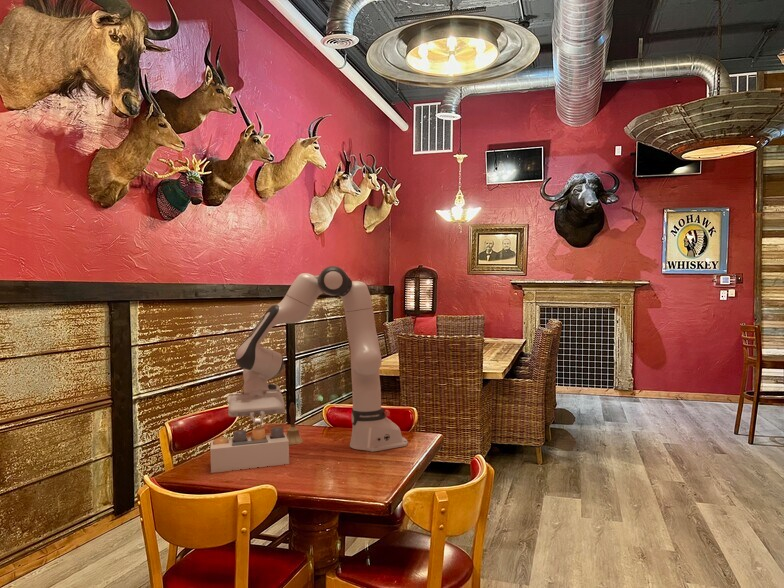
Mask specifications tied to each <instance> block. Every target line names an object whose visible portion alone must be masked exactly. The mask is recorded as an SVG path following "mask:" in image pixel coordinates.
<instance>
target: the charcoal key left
mask: <svg viewBox="0 0 784 588" xmlns="http://www.w3.org/2000/svg"><path fill="white" fill-rule="evenodd" d="M283 433H284V427H282V426H274V427H271V428H270V434H271V439H276V438H283Z"/></svg>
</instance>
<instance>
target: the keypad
mask: <svg viewBox="0 0 784 588" xmlns="http://www.w3.org/2000/svg"><path fill="white" fill-rule="evenodd" d="M286 435H287V433H285V432H283V438H276V439H271V433H270V434H265V439H263V440H252V435H251V436H246V441H244V442H234V439H233V437H231V438H227V443H226V444H217V445H214V439H212V440H211V441H210V450H209V451H210V474H215V473H224V472H232V470H233V471H241V470H240V469H242V470H249V468H250V469H258V468H257V467H259V468H264V467H265V468H266V467H267V466H268V467H275V466H282V465H283V466H284V464H285V465H290V445H289V441H288V438H287V436H286ZM268 467H267V468H268Z"/></svg>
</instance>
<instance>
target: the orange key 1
mask: <svg viewBox="0 0 784 588" xmlns="http://www.w3.org/2000/svg"><path fill="white" fill-rule="evenodd" d="M227 439H228V437H217V438H214V439H213V440H214V445H217V444H226V443H227Z"/></svg>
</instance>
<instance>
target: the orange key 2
mask: <svg viewBox="0 0 784 588" xmlns="http://www.w3.org/2000/svg"><path fill="white" fill-rule="evenodd" d="M251 433H252V435H251V436H252V440H263V439H265V435H266V429H265V428H261V427H260V428H254V429H252V431H251Z"/></svg>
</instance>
